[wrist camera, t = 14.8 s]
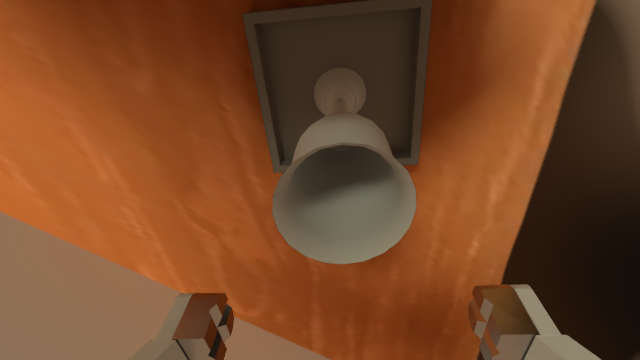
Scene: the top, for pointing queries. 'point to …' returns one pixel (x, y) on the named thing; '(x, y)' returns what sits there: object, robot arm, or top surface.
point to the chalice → (343, 181)
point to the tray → (345, 52)
